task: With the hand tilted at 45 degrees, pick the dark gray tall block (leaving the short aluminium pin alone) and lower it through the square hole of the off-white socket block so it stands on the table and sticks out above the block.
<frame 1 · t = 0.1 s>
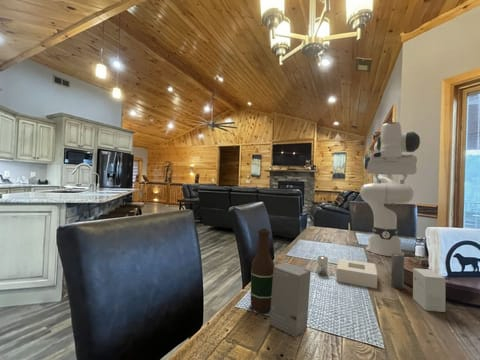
hand: (390, 183, 118), 39 cm above the table, tool pointing down, fingers open, 8 cm apart
socket block: (356, 278, 101), on the table
short pin: (322, 273, 105), on the table
dark gray tall block: (397, 286, 93), on the table
beer bottle: (262, 307, 76), on the table
small box: (428, 306, 79), on the table
skincare box: (289, 327, 67), on the table
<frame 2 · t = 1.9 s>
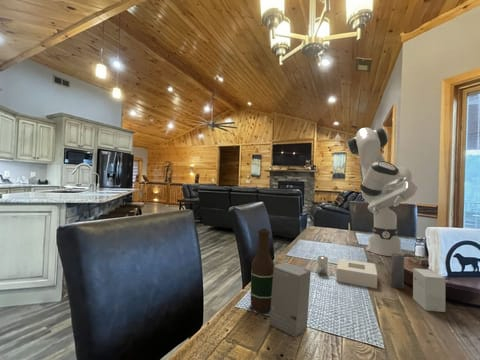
hand: (384, 209, 101), 28 cm above the table, tool tilted 60°, fingers open, 8 cm apart
nothing on the table moved.
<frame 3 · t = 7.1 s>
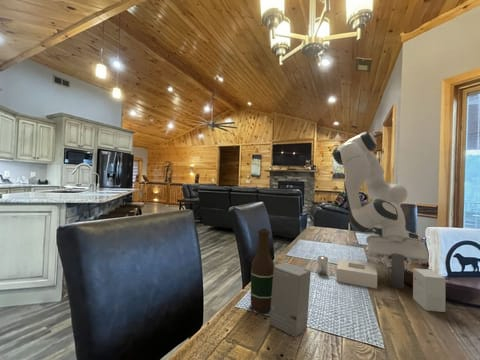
hand: (397, 269, 93), 7 cm above the table, tool tilted 45°, fingers closed on dark gray tall block, 4 cm apart
dark gray tall block: (397, 286, 93), on the table, touching gripper
everything else where it was.
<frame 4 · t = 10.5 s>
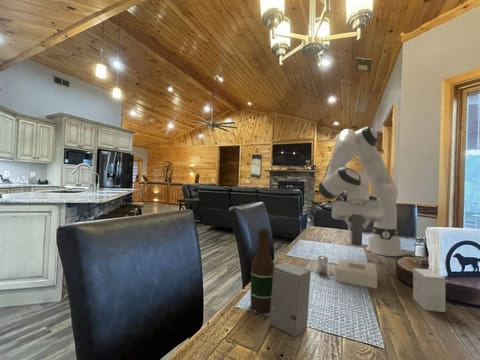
hand: (356, 227, 100), 21 cm above the table, tool tilted 45°, fingers closed on dark gray tall block, 4 cm apart
dark gray tall block: (356, 244, 101), point 14 cm above the table, touching gripper
everything else where it was.
when the fingers open (8 cm above the table, at t = 13.9 s): dark gray tall block drops 2 cm, resting in socket block.
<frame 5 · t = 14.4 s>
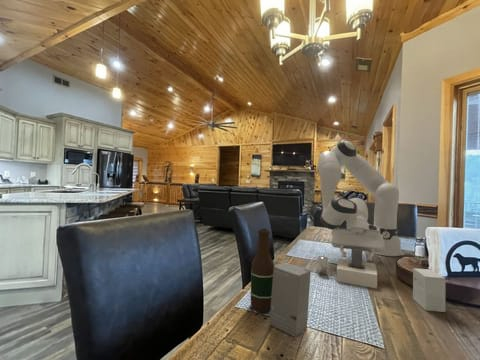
hand: (356, 258, 100), 8 cm above the table, tool tilted 45°, fingers open, 8 cm apart
dark gray tall block: (356, 278, 101), resting in socket block
everything else where it was.
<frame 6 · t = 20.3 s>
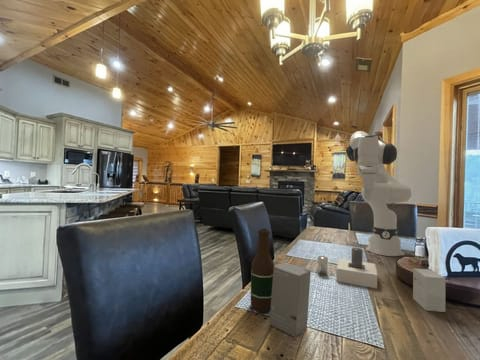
hand: (367, 200, 113), 31 cm above the table, tool pointing down, fingers open, 8 cm apart
nothing on the table moved.
at the end: dark gray tall block 0.1 cm off-centre on the socket block, point 0.0 cm above the socket block's base; dark gray tall block tilted 0°; short pin moved 0.0 cm from its start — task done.
